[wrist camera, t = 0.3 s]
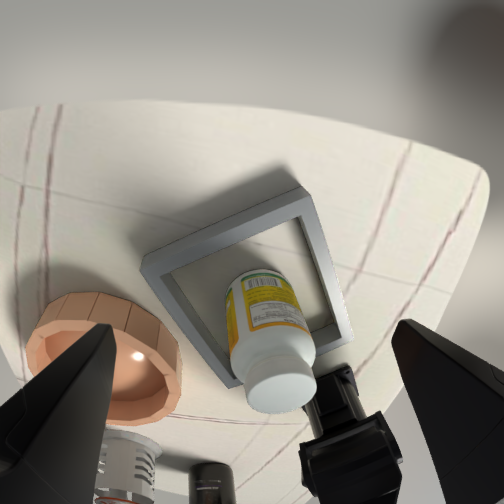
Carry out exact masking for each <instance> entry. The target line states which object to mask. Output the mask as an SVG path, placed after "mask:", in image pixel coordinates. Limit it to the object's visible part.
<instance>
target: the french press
mask: <svg viewBox="0 0 504 504" xmlns="http://www.w3.org/2000/svg"><path fill="white" fill-rule="evenodd" d="M162 451H163V450H162V449H161V447H160V446H159V444H157V443H156V442H154V441H153V440H151V439H150V438H147V437H144V436H142V435H139V434H136V433H132V432H127V431H122V430H104V435H103V440H102V445H101V451H100V457H99V461H101V462H102V463H105V465H104V464H100V463H98V469H99V468H100V470H103V471H104V474H103V473H100V472H99V471H98V469H97V475H96V482H95V489H94V493H95V494H96V495H97V496H99V498H96V499H95V503H96V504H153V503H154V488H153V489H152V488H151V486H150V485H153V487H154V480H153V481H152V479H151V477H153V479H154V476H155V475H154V474H155V459H157V458H158V457H160V456H161V454H162ZM148 470H149V471H150V473H148ZM152 470H153V471H154V473H153V472H152ZM148 479H149V480H150V481H149V480H148ZM98 488H109V491H102V490H99V489H98ZM127 491H129V492H132V501H129V500H128V498H127Z"/></svg>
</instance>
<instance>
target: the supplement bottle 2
mask: <svg viewBox="0 0 504 504" xmlns="http://www.w3.org/2000/svg"><path fill="white" fill-rule="evenodd" d="M225 309H226V321H227V331H228V341H229V352H230V362H231V367H232V370H233V372H234V374H235V376H236V377H237V378H238V379H239V380H240V381H241V382H242V383H244V388H245V393H246V398H247V402H248V404H249V405H250V407H252V408H253V409H254V410H256V411H258V412H261V413H266V414H281V413H286V412H290V411H293V410H296V409H298V408H300V407H302V406H303V405H305V404H306V403H307V402H309V401H310V400H311V399H312V397H313V396H314V394H315V392H316V389H317V385H316V381H315V378H314V375H313V371H312V369H311V367H312V365H313V363H314V360H315V354H316V351H315V345H314V342H313V339H312V337H311V334H310V332H309V329H308V327H307V324H306V321H305V319H304V317H303V314H302V312H301V309H300V307H299V304H298V302H297V299H296V296H295V294H294V291H293V289H292V287H291V285H290V283H289V282H288V280H287V279H286V278H285V277H284V276H282V275H281V274H279V273H277V272H275V271H271V270H265V269H258V270H253V271H249V272H246V273H244V274H242V275H240V276H239V277H238V278H236V279H235V280H234V281H233V282H232V283H231V285H230V286H229V288H228V290H227V292H226V297H225Z"/></svg>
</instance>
